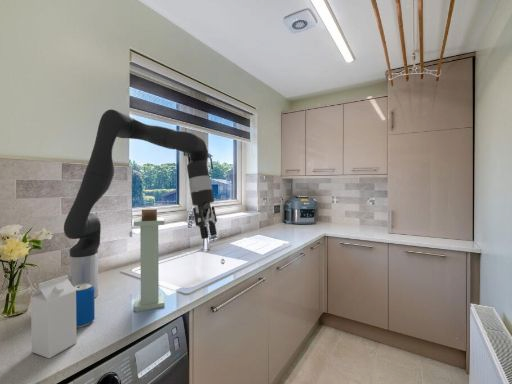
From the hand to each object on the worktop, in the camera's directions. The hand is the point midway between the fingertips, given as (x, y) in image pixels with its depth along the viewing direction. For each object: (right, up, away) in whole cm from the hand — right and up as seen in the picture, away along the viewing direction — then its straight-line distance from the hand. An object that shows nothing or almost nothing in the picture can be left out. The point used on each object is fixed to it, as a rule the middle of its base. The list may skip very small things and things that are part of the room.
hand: (209, 236), depth 87 cm
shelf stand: (-24, -27, +8) cm, 37 cm away
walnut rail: (-25, +5, +11) cm, 28 cm away
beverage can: (-40, -27, -5) cm, 49 cm away
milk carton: (-39, -28, -18) cm, 51 cm away
